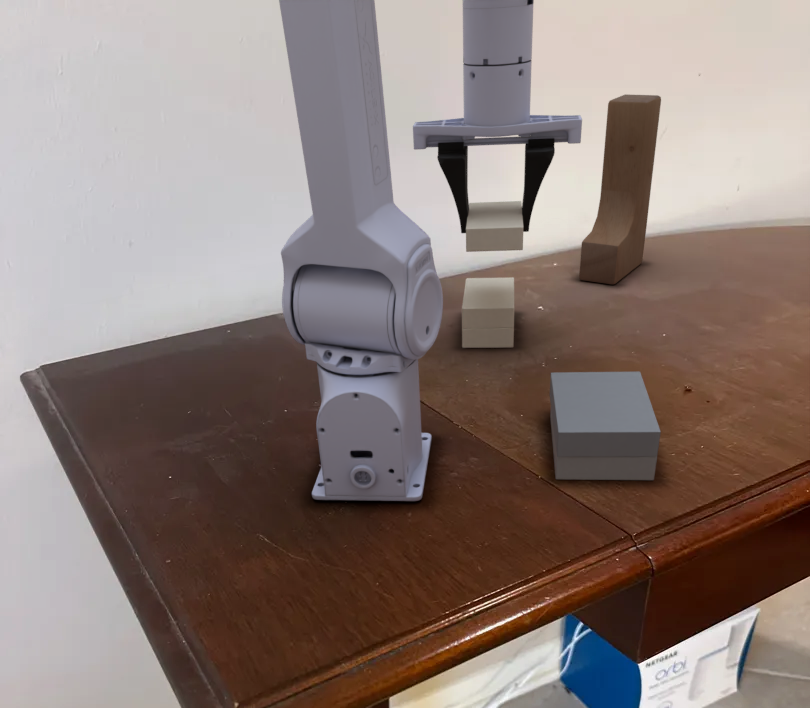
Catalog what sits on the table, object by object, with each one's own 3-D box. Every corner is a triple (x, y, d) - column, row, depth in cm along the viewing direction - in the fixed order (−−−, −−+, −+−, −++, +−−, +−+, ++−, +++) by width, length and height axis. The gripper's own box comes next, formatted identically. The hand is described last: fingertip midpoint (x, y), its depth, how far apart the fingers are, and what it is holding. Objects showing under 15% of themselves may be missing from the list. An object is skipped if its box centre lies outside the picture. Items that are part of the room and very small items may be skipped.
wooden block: (614, 286, 92) (632, 108, 82) (577, 280, 94) (590, 106, 84) (643, 263, 98) (662, 94, 88) (607, 258, 100) (622, 93, 90)
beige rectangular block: (522, 250, 72) (523, 226, 70) (466, 252, 72) (465, 228, 71) (520, 222, 79) (521, 200, 78) (469, 224, 79) (469, 202, 78)
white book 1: (513, 328, 78) (514, 307, 77) (461, 328, 79) (461, 308, 78) (513, 296, 85) (514, 277, 84) (466, 296, 86) (465, 278, 85)
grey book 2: (653, 480, 59) (657, 456, 57) (555, 479, 59) (557, 456, 58) (636, 416, 67) (639, 394, 65) (550, 416, 67) (551, 394, 66)
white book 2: (513, 347, 79) (513, 328, 78) (462, 348, 80) (461, 328, 79) (513, 314, 87) (513, 296, 85) (466, 315, 87) (466, 296, 86)
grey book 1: (657, 456, 57) (661, 431, 56) (556, 457, 58) (558, 432, 57) (637, 394, 65) (640, 371, 64) (549, 395, 66) (550, 372, 65)
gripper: (582, 52, 70) (571, 216, 78) (415, 61, 72) (422, 220, 80) (588, 61, 65) (576, 236, 73) (407, 70, 66) (415, 240, 74)
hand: (495, 229), depth 76 cm, fingers closed on beige rectangular block, 5 cm apart
